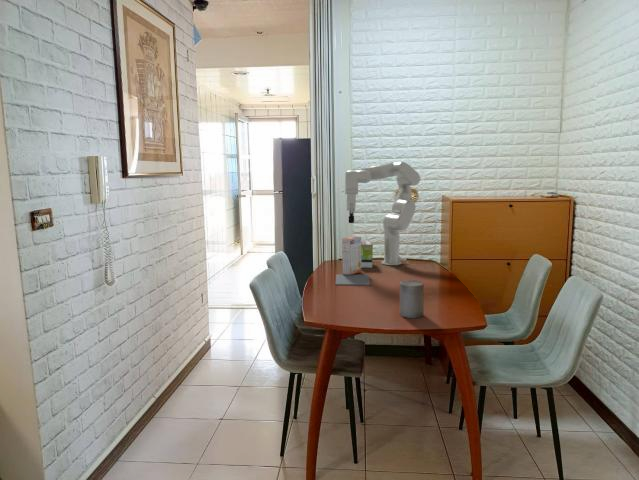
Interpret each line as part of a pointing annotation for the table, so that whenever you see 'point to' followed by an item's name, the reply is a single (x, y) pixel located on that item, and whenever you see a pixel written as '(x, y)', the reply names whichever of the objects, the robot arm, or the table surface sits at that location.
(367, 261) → the tea box
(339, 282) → the mat
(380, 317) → the table surface
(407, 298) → the pillar candle
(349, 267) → the cracker box
